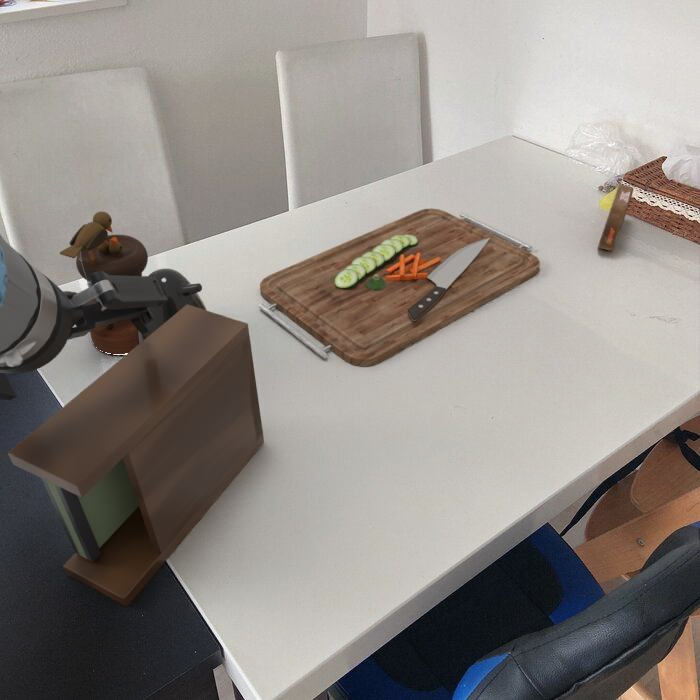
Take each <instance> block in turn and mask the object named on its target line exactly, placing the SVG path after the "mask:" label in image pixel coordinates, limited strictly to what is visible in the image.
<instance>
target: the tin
mask: <svg viewBox="0 0 700 700" xmlns="http://www.w3.org/2000/svg"><path fill="white" fill-rule="evenodd" d="M633 193H634V187H633V186H630V185H625V184H621V182H620V183H618V186H617V188H616V191H615V195H614V198H613V199H612V203H611V206H610V209H609V213H608V215H607V218H606V222H605V224H604V227H603V230H602V234H601V237H600V239H599V242H598V245H597V249H602V250H605V251H614V250H615V247H616V243H617V240H618V237H619V234H620V230H621V228H622V226H623V224H624V222H625V219H626V216H627V213H628V209H629V207H630V204H631V200H632V196H633Z"/></svg>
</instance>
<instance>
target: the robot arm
mask: <svg viewBox="0 0 700 700" xmlns="http://www.w3.org/2000/svg"><path fill="white" fill-rule="evenodd" d="M88 278H89V280H90V281H89V282H88V283H87V282H86V285H87V288H85V289H82V290H81V291H79V292H75V291H69V290H64V291H63V290H62V289H61V288H60V287H59V286H58V285H57V284H56V283H55V282H53V281H52V280H51V279H50V278H49V277H48V276H46V275H45V274H44V273H43V272H42V271H41V270H40V269H39V268H37V267H36V266H35V265H34V264H33V263H32V262H31V261H29V260H28V259H27V258H25V257H24V256H23V255H22V254H21V253H20V252H18V251H17V250H16V249H15V248H14V247H13V246H11V244H9V243H8V242H7V241H6V240H5V238H4V237H3V236H2V235H1V234H0V400H4V401H12V400H13V399H16V398H17V397H18V396H17V393H16V392H15V390H14V388H13V386H12V384H11V382H10V381H9V379H8V376H7V375H6V374H9V375H17V374H26V373H29V372H33V371H37V370H39V369H40V368H41V369H42V368H43V367H44V366H46V365H48V364H49V363H51V362H52V361H53V360H55V358H57V357H58V356H59V354H60V353H61V352H62V351H63V349H64V348H65V346H66V344H67V342H68V340H73V339H78V338H81V337H85V336H87V335H88V334H90V331H92V330H93V329H94V328H95V327H99V326H103V325H107V324H112V323H116V322H121V321H125V320H129V319H130V320H131V322H132V324H133V325H134V326H135V327H136V328H137V329H138V330H139V332H140V333H141V334H144V333H146V332H148V331H149V330H148V328H147V326H146V324H147V323H149V322H151V321H152V320H153V319H154V317H153V315H152V312H151V310H150V308H149V307H157V306H162V305H164V304H165V303H166V302H167V301H168V300H167V298H166V296H165V294H164V292H163V291H162V289H161V287H160V285H159V283H158V281H157V279H156V278H155V276H149V275H142V276H119V275H108V274H106V273H105V272H103V271H98V272H94V273H92V274H91V275H90V276H89V277H88Z"/></svg>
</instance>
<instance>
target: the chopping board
mask: <svg viewBox="0 0 700 700" xmlns="http://www.w3.org/2000/svg"><path fill="white" fill-rule="evenodd" d="M490 232H491V233H490ZM494 234H495V235H494ZM502 238H503V239H502ZM506 240H507V241H506ZM508 241H509V242H508ZM532 248H533V246H532V245H530V244H529V243H526V242H524V241H523V240H522V241H521V240H520V239H518V238H516V237H514V236H511V235H509V234H507V233H505V232H503V231H501V230H499V229H497V228H494V227H492V226H491V225H488V224H486V223H484V222H482V221H480V220H478V219H476V218H474V217H472V216H469V215H468V214H465V213H463V212H461V213H459V217H458V216H456V215H453V214H451V213H449V212H447V211H445V210H443V209H439V208H433V207H432V208H424V209H420V210H417V211H415V212H413V213H410V214H408V215H406V216H403V217H401V218H399V219H396V220H394V221H392V222H389V223H388V224H385V225H382V226H380V227H378V228H375V229H372V230H370V231H368V232H366V233H363V234H362V235H359V236H357V237H355V238H352V239H350V240H348V241H345V242H343V243H340V244H339V245H336V246H333V247H332V248H328V249H327V250H324V251H322V252H320V253H317V254H315V255H313V256H310V257H308V258H306V259H304V260H301V261H299V262H297V263H294V264H292V265H290V266H288V267H286V268H283V269H281V270H278V271H276V272H274V273H271V274H269V275H267V276H265V277H263V279H262V280H261V282H260V283H259V290H260V296H261V297H262V298H263V300H265V301H267V303H269V304H270V305H268V306H267V305H265V304H264V303H259V306H258V308H259V309H260V310H262V312H264V313H265V314H267V315H268V316H269V317H270V318H272V319H273V320H274V321H275V322H277V323H278V324H280V326H282V327H283V328H284V329H286V330H287V331H288V332H289V333H291V334H292V335H294V337H296V338H297V339H298V340H300V341H301V342H302V343H304V344H305V345H306V346H307V347H308V348H310V349H311V350H313V352H315V353H316V354H317V355H319V356H320V357H321V358H322V359H323V360H324V359H325V360H326V359H327V358H328V357H329V354H328V352H327V351H329V350H330V351H331V352H333V353H334V354H335V355H336V356H338V357H339V358H341V359H342V360H343V361H344V362H346V363H349V364H350V365H352V366H356V367H362V368H363V367H372V366H374V365H377V364H380V363H382V362H383V361H385V360H387V359H389V358H391V357H393V356H395V355H396V354H398V353H400V352H402V351H403V350H405V349H407V348H409V347H411V346H412V345H414V344H416V343H418V342H420V341H421V340H423V339H425V338H426V337H428V336H430V335H432V334H434V333H436V332H437V331H439V330H441V329H443V328H444V327H447V326H448V325H450V324H451V323H453V322H456V321H457V320H459V319H460V318H462V317H464V316H465V315H467V314H470V313H472V312H473V311H474V310H476V309H478V308H481V307H482V306H484V305H486V304H487V303H489V302H491V301H493V300H494V299H496V298H497V297H500V296H501V295H503V294H505V293H507V292H509V291H511V290H513V289H514V288H515V287H517V286H520V285H521V284H523V283H524V282H527V281H528V280H530V279H532V278H533V277H535V276H536V275H537V274H538V273H539V270H540V264H541V260H540V259H539V258H538V256H536V255H535V254H533V253H531V252H529V251H531V250H532ZM275 308H276V310H278V311H279V312H280V313H282V314H283V315H285V316H286V317H287V318H288V319H290V320H291V321H292V322H293V323H295V324H296V325H298V326H299V327H300V328H301V329H303V330H304V331H306V332H307V333H308V334H310V335H311V336H312V337H313V338H314V339H316V340H317V341H318V342H320V343H321V344H322V345H324V347H322V348H321V347H320V346H318V345H317V344H315V343H314V342H313V341H312V340H310V339H309V338H308V337H307V336H305V335H304V334H303V333H301V331H299V330H297V329H296V328H295V327H293V326H292V324H290V323H288V322H287V321H286V320H285V319H283V318H282V317H281V316H279V314H276V312H274V311H273V310H272V309H275Z"/></svg>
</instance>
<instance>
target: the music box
mask: <svg viewBox="0 0 700 700" xmlns="http://www.w3.org/2000/svg"><path fill="white" fill-rule="evenodd" d="M112 224H113V220H112V216H111V215H110V214H109V213H108V212H107V211H97V212H96V213H95V214H93V217H92V221H89V222H87V223H85V224H83V225H82V226H81V227H80V228H79V229H78V230H77V231H76V232H75V234H74V235H73V236H72V238H71V239H70V241H69V246H67V247H66V248H65V249H63V250H60V252H59V255H61V256H64V257H69V258H71V259H75V258H76V260H75V265H76V269H77V271H78V273H79V275H80V276H81V277H82V278H83V279H84V280H85V281H86V284H87V283H88V282H89V281H90V280H89V278H88V277H89V276H90V275H91V274H92V273H94V272H98V271H103V272H105V273H106V274H108V275H119V276H143V273H144V271H145V270H146V267H147V266H148V260H149V255H148V252H147V248H146V247H145V245H144V244H143V243H142V242H141V241H140V240H138V239H137V238H136V237H133V236H131V235H126V234H109V232H110V233H113V229H112ZM89 335H90V338H91V340H92V344H93V343H94V344H93V346H94V345H95V346H96V347H97V348H98V349H99V350H101V351H103V352H107V353H111V354H125V353H129V352H130V351H131V350H133V349H134V348H135V347H136V346H137V345H138V341H137V328H136V327H135V326H134V325H133V324H132V322H131V320H130V319H129V320H125V321H121V322H116V323H112V324H107V325H103V326H99V327H95V328H94V329H93V330H92V331H90V332H89ZM95 346H94V347H95ZM96 347H95V348H96ZM97 348H96V349H97ZM98 349H97V350H98ZM99 350H98V351H99ZM101 351H100V352H101ZM103 352H102V353H103Z"/></svg>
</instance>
